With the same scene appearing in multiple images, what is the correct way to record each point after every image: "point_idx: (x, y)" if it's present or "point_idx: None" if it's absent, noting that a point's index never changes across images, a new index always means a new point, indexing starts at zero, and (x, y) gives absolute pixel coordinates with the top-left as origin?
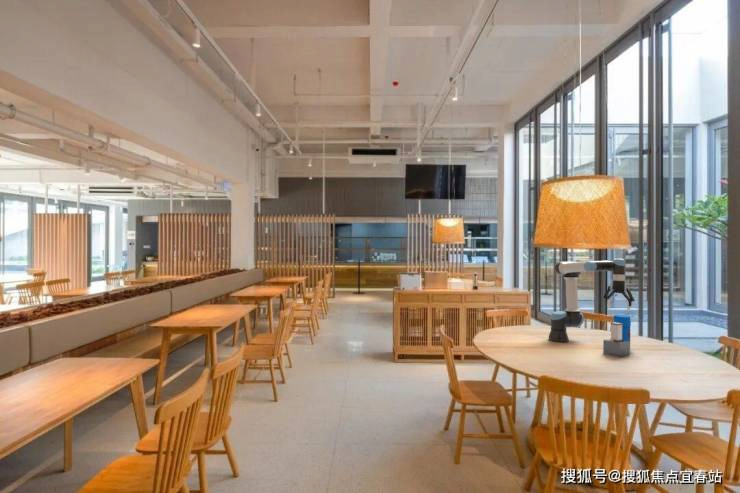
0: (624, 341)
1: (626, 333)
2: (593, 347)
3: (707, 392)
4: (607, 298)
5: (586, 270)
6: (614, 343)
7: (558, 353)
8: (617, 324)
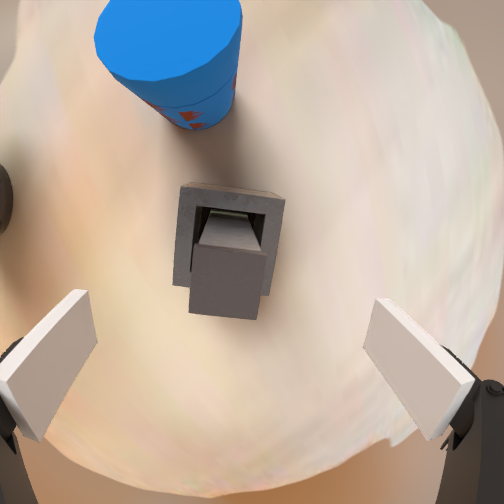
0: (266, 230)
1: (226, 93)
2: (104, 186)
3: None
4: (14, 447)
5: None
6: None
7: (104, 379)
8: (249, 316)
